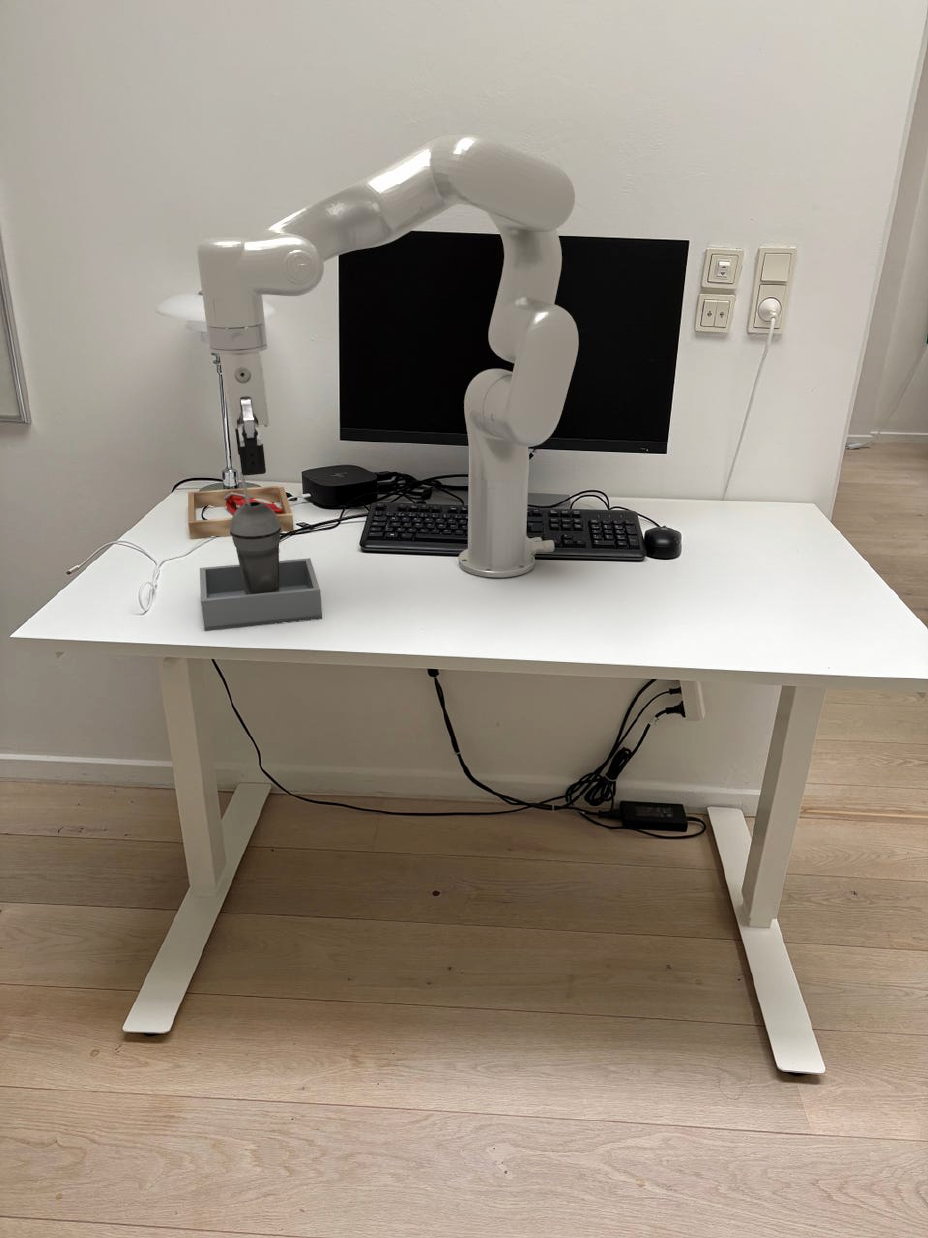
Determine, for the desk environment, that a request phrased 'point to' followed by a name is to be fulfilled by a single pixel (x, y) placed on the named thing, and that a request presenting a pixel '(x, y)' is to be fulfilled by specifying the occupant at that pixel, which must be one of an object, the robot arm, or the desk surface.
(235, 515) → the beverage cup
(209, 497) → the oak organiser frame
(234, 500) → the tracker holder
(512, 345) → the robot arm
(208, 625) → the charcoal tray
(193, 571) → the desk surface
